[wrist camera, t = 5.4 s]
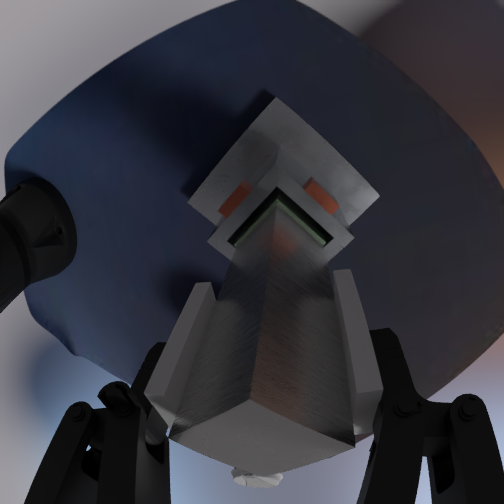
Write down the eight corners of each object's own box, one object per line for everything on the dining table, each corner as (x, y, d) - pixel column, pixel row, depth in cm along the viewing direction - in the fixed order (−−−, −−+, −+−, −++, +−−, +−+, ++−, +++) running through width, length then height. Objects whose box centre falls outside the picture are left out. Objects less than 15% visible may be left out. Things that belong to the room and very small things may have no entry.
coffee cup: (236, 401, 48) (221, 474, 34) (280, 396, 46) (274, 474, 32) (251, 423, 51) (241, 488, 38) (292, 419, 49) (288, 488, 36)
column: (244, 217, 24) (161, 436, 7) (279, 179, 22) (248, 393, 6) (283, 249, 25) (263, 478, 8) (318, 214, 23) (362, 446, 7)
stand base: (191, 198, 31) (145, 245, 21) (276, 97, 26) (269, 87, 15) (286, 275, 34) (283, 347, 24) (376, 191, 28) (418, 237, 18)
